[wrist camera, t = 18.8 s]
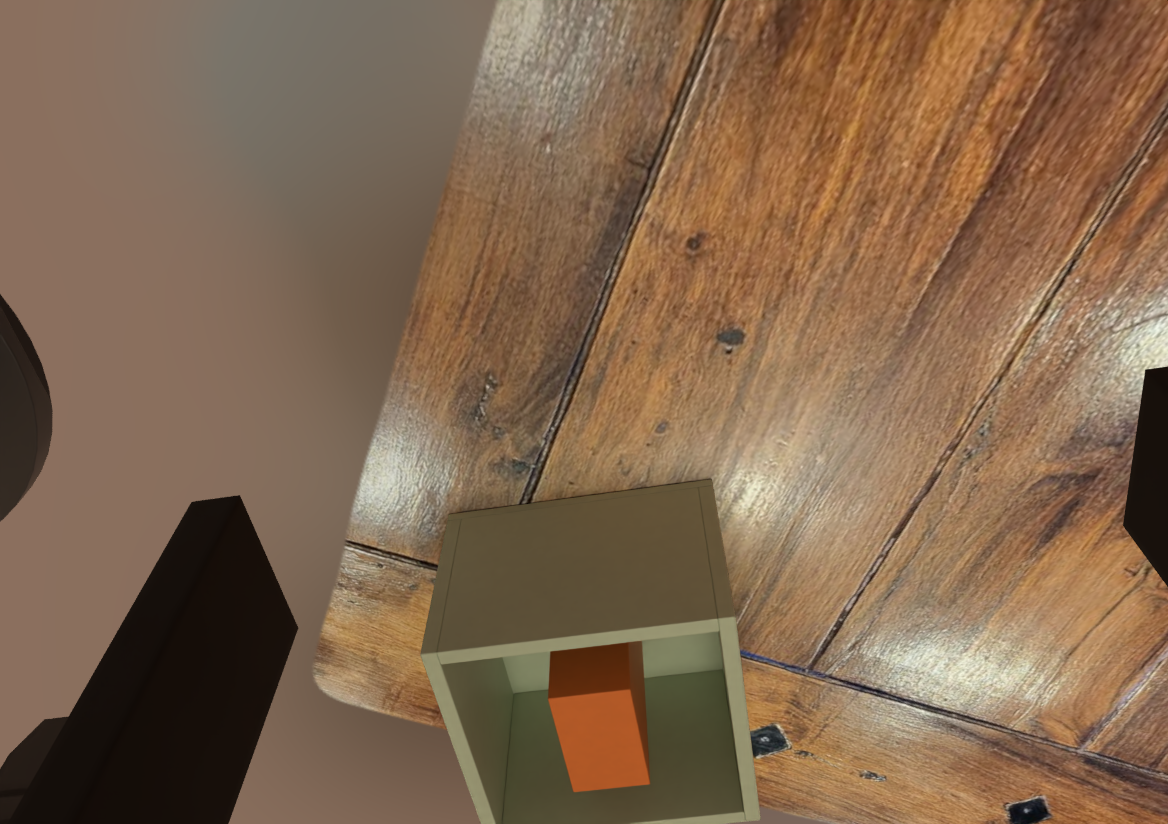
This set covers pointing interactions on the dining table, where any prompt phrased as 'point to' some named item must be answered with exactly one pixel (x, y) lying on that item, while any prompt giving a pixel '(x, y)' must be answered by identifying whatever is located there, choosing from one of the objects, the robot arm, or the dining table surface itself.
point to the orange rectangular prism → (601, 715)
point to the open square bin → (585, 619)
